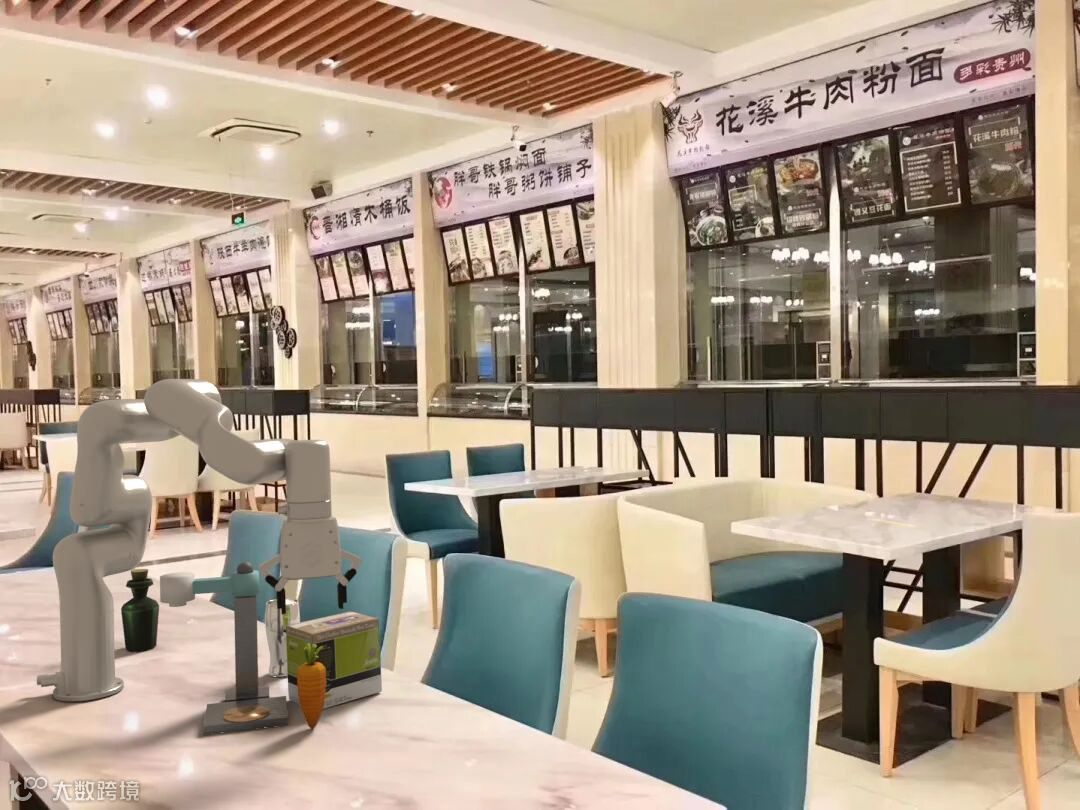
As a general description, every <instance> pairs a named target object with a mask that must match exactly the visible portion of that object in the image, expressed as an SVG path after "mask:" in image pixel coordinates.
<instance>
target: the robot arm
mask: <svg viewBox="0 0 1080 810" xmlns="http://www.w3.org/2000/svg"><path fill="white" fill-rule="evenodd" d="M233 425H234V414H233V413H232V411H231V410H230V408H229V407H227V406H226V405H224V404H222V397H221V393H220V392H219V390H218V389H217V387H216V386H215V385H214V384H213V383H211V382H209V381H207V380H205V379H200V378H167V379H162V380H158V381H157V382H155V383H153V384H152V385H151V386H149V387H148V389H147V390H146V391H145V393H144V398H140V399H139V398H121V399H120V398H119V399H107V400H100V401H98V402H94V403H92V404H90V405H89V406H87V407H86V408H85V409H84V410H83V412H82V413H81V415H80V417H79V419H78V422H77V428H76V443H77V444H76V445H77V455H76V462H75V467H74V474H73V480H72V481H73V482H72V488H71V493H70V501H69V515H70V519H71V520H72V521H73V523H74V524H76V525H78V526H80V527H84V528H86V527H87V528H92V527H94V528H95V527H102V528H96V529H90V530H85V531H80V532H75V533H72V534H69V535H67V536H65V537H64V538H62V539H61V540H60V541H58V543H57V544H56V545H55V547H54V549H53V553H52V564H53V570H54V573H55V577H56V581H57V582H56V583H57V588H58V596H59V597H58V600H59V618H60V619H59V620H60V621H59V624H60V625H59V626H60V627H59V628H60V630H59V632H60V633H59V634H60V671H56V672H55V673H52V674H48V673H46V674H39V675H37V676H36V686H40V687H41V688H44V687H45V688H46V687H54V688H53V690H52V698H53V699H55V700H57V701H61V702H71V703H72V702H74V703H75V702H87V701H93V700H98V699H104V698H106V697H110V696H113V695H115V694H117V693H119V692H121V691H122V690H123V689H124V687H125V685H124V684H125V681H124V680H123V679H122V678H120V677H116V662H115V660H116V659H115V658H116V657H115V656H116V653H115V616H114V615H115V614H114V613H115V610H114V605H115V604H114V598H113V597H114V596H113V594H112V592H111V590H110V588H109V587H108V585H107V584H106V583H105V581H104V578H105V577H108V576H113V575H116V574H122V573H126V572H128V571H131V570H134V569H135V568H136V567H137V566H139V565H140V563H141V561H142V560H143V557H144V554H145V550H146V547H147V542H148V541H147V539H148V535H149V527H150V523H151V516H152V510H153V509H152V508H153V496H152V491H151V488H150V487H149V484H148V483H147V482H146V480H144V478H142V477H140V476H138V475H135V474H124V468H125V455H124V452H123V449H122V447H121V444H142V443H156V442H165V441H168V440H172V439H174V438H177V437H179V436H182V437H184V438H185V439H187V440H189V441H190V442H192V443H194V444H196V445H197V446H198V452H199V453H200V455H201V458H202V459H203V461H204V462H205V463H206V465H208V466H209V467H210V468H211V469H213V470H214V471H216V472H218V473H219V474H220V475H222V476H224V477H225V478H228V479H230V480H231V481H234V482H236V483H239V484H241V485H248V486H252V485H259V484H267V483H275V482H282V481H283V482H284V481H285V492H286V494H285V496H286V497H285V498H286V499H285V500H286V503H284V504H283V505H281V506H277V507H278V508H277V511H278V515H283V516H284V515H285V517H286V519H285V520H283V521H282V524H281V532H280V549H279V550H280V553H277V554H276V555H275V556H274V555H273V557H271V558H269V559H267V560H266V561H264V562H263V563H260V564H259V565H258V571H259V573H260V574H261V575H262V577H263V578H264V580H265V582H266V583H267V584H268V585H270V587H272V588H273V589H274V590H275V592H276V599H277V609H281V612H282V614H285V613H286V598H287V597H286V588H285V586H286V584H287V583H288V582H289V581H297V580H299V581H300V580H301V581H302V580H310V579H311V580H312V579H322V578H323V579H324V578H332V577H334V578H335V579H336V580H337V581H338V583H337V586H336V589H337V591H336V592H337V607H338V609H340V610H343V609H344V604H346V603H348V595H347V593H348V591H347V586H348V585H349V582H351V580H352V579H353V578H354V577H355V576H356V575H357V572H358V570H359V568H360V566H361V564H362V560H363V559H362V558H361V557H360V556H357V555H356V554H354V553H351V552H349V551H346V550H344V549H342V548H341V536H340V530H339V525H338V520H337V518H336V517H334V516H332V515H333V514H332V513H333V512H332V509H333V508H332V483H331V482H332V481H331V453H330V446H329V443H328V442H327V441H325V440H321V439H302V440H301V439H299V440H296V439H289V438H271V439H269V438H267V439H257V440H247V439H245V438H242V437H240V436H239V435H236V434H235V433H233V432H231V431H232V428H233ZM108 525H109V527H104V526H108ZM342 559H344V560H346V561H348V562H351V565H350V568H349V569H348V570H347V571H346V572H345V573H343V572H342V561H343V560H342ZM278 564H279V565H280V576H279V578H278V579H277V578H276V577H275V576H273V575H272V574H271V572H270V569H272V568H273V567H274V566H277V565H278Z"/></svg>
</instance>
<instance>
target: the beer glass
mask: <svg viewBox="0 0 1080 810" xmlns="http://www.w3.org/2000/svg"><path fill="white" fill-rule="evenodd" d="M285 598H286V613H285V614H282V612H281V609H277V598H274V599H270V600H267V601H266V602H265V615H264V618H265V623H264V624H265V625H264V626H265V627H264V628H265V633H266V640H267V646H268V650H269V666H268V673H267V674H268V676H269V675H270V676H269V677H271V676H276V677H282V678H284V677H283V676H288V673H287V643H286V626H287V625H291V624H296V623H301V615H300V605H299V604H300V603H299V599H298V598H293V597H291V598H290V597H285ZM276 677H275V678H276Z"/></svg>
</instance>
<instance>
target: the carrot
mask: <svg viewBox="0 0 1080 810" xmlns="http://www.w3.org/2000/svg"><path fill="white" fill-rule="evenodd" d="M316 647H317V645H315V644H313V645H312V647H310V643H307V644H306V647H305V648H304V654H305V657H306V659H307V663H304V664H303V665H301V666H299V667H298V669H297V686H298V696H299V701H300V705H299V706H300V710H301V712H302V715H303V718H304V720H305V722H306V724H307V726H308V727H309V729H311V730H314V729H315V728H316V726H317V725H318V723H319V721H320V718H321V716H322V713H323V710H324V709H323V705H324V699H325V692H326V669H325V667H324V666H323V665H322V664H321V663H319V662H315V661H316V660H317V658H318V657H319V656H317V654H318V653H319V651H320V650H322V649H323V646H320V647H319V648H318V649H317V650H316V652H315V649H316Z"/></svg>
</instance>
